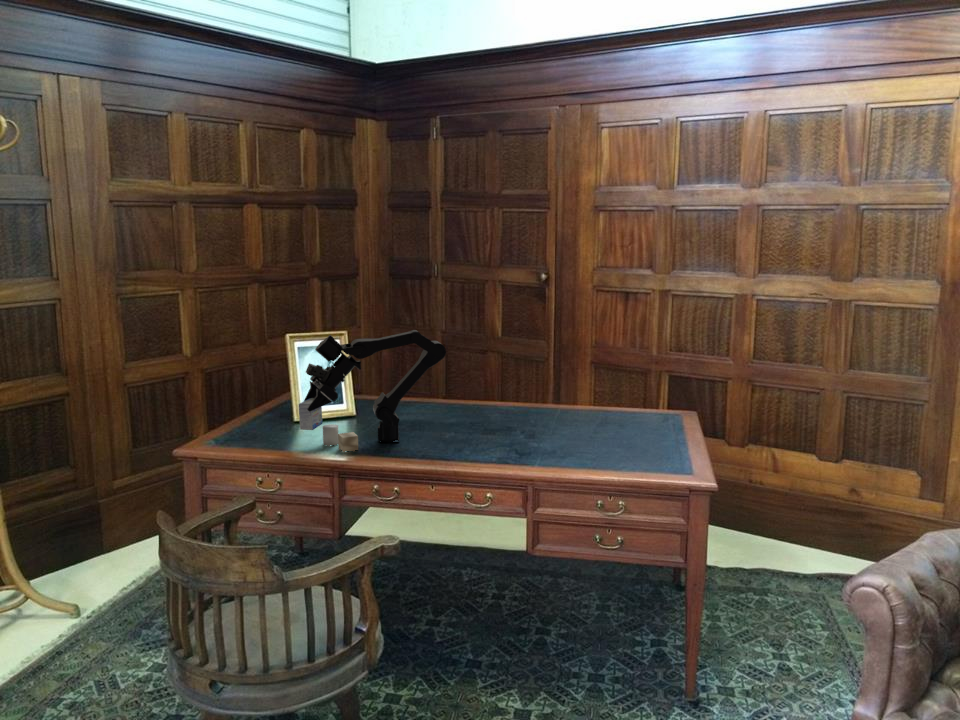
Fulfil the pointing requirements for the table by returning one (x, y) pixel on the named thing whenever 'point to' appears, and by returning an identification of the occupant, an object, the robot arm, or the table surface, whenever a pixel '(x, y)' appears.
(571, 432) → the table surface
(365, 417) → the table surface
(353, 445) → the beech cube
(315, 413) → the medicine box
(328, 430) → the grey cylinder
